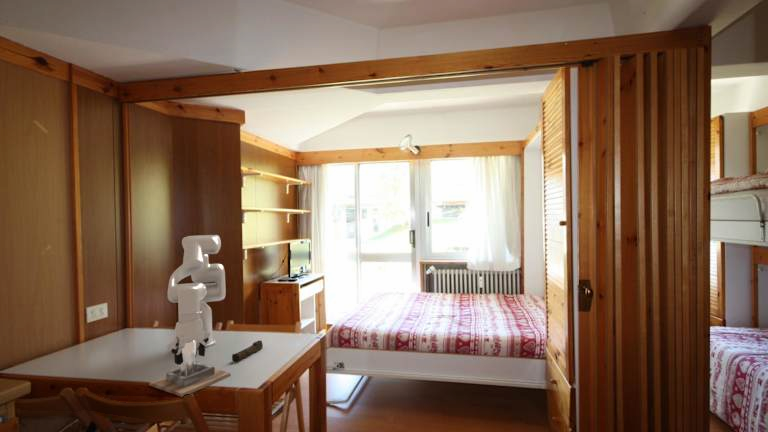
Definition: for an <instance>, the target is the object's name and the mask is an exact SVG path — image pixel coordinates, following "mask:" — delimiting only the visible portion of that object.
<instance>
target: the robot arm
mask: <svg viewBox="0 0 768 432" xmlns="http://www.w3.org/2000/svg"><path fill="white" fill-rule="evenodd" d="M181 245H182V248H183V250H184V252H183V258H182V260H183V262H182V264H181V265H179V267H178V268H176V269H175V270H174V271H173V273H172V274H171V275H170V278H169V279H168V280H169V281H168V288H167V299H168V301H169V302H171V303H174V304H175V303H178V304H177V305H178V307H177V308H178V312H177V313H178V321H177V322H176V323H175V328H174V338H173V340H172V341H171V342H169V344H167V345H166V346H167V349H168V350H169V352H170V353H172V354H173V356H174V358H173V359H174V364H175V365H178V366H179V365H181V364H182V358H181V354H180V353H181V351H182V348H184V347H185V343H188V342H192V341H194V340H196V344H197V352H198V356H200V357H204V356H205V355H206V354H205V353H206V348H207V347H211V346H213V345H214V344H216V342H217V341H216V339H215V338H213V314H212V313H213V311H212V308H211V307H210V305H208V304H207V303H210V302H221V301H222V300H225V298H226V291H227V290H226V272H225V267H224V265H223V264H221V263H210V261H209V255H215V254H218V253H219V251H220V250H221V247H222V241H221V238H220V236H219V235H218V234H208V235H207V234H206V235H204V234H201V235H199V234H198V235H188V236H185V237H183V238H182V240H181ZM189 276H191V277H190V278H191V281H192V282H191V283H190V282H189V283H179V282H180V281H182V280H183V279H185V278H187V277H189ZM178 343H179V345H180V346H178ZM178 348H179V349H178Z"/></svg>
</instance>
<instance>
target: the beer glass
mask: <svg viewBox="0 0 768 432" xmlns="http://www.w3.org/2000/svg"><path fill="white" fill-rule="evenodd" d="M178 346H180V345H179V343H178ZM178 349H179V348H178ZM180 354H181V358H182V364H181V365H178V368H180V375H181V376H184V377H187V376H190V375H192V374H195V373H196V372H195V363H196V362H197V355H198V348H197V344H196V340H194V341H192V342H188V343H185V347H184V348H182V351H181V353H180Z"/></svg>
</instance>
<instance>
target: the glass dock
mask: <svg viewBox="0 0 768 432" xmlns="http://www.w3.org/2000/svg"><path fill="white" fill-rule="evenodd" d="M195 372H196V373H195V374H192V375H190V376H187V377H184V376H181V375H180V367H178V368H177V369H174V370H171V371H169V372H166V374H165V376H163V377H160V378H158V379H155V380H152V381H150V382H149V386H150V387H152V388H155V389H158V390H161V391H164V392H167V393H170V394H173V395H176V396H178V397H182V398H183V396H184V395H185V394H189V395H191V394H194V393H195V392H197V391H199V390H202V389H204V388H206V387H209V386H211V385H213V384H215V383H218V382H220V381H222V380H224V379H226V378H229V377H230V376H231V372H229V371H226V370H221V369H219V368H215V366H212V365H208V364H205V363H201V362H197V361H196V363H195ZM184 397H185V396H184Z"/></svg>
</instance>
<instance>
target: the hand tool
mask: <svg viewBox="0 0 768 432" xmlns="http://www.w3.org/2000/svg"><path fill="white" fill-rule="evenodd" d="M263 347H264V346H263V342H262V340H261V339H260V340H257V341H254V342H253V343H252V345H250V346H248V347H246V348H244V349H243V350H240V351H238V352H236V353H232V355H231V358H232V359H231V360H232V362H235V363H239V362H240V361H242V359H245V358H246V357H248V356H250V355H252V354H253V353H258V352H259V351H261V350H262V349H263Z"/></svg>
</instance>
